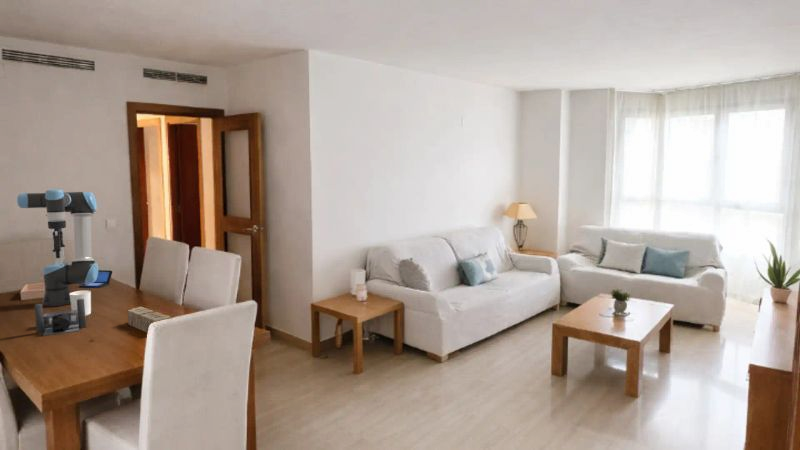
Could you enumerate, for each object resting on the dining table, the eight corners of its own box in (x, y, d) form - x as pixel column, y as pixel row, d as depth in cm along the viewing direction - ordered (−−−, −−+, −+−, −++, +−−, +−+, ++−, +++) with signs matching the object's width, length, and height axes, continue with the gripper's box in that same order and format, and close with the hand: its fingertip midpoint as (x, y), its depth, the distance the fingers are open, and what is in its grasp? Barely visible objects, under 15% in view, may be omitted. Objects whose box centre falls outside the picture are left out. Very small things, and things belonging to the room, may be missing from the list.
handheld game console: (78, 288, 332) (77, 274, 331) (91, 283, 345) (90, 269, 344) (100, 288, 331) (99, 274, 330) (113, 283, 344) (112, 270, 343)
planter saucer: (26, 292, 319) (25, 284, 319) (64, 288, 329) (63, 281, 329) (21, 300, 301) (20, 291, 301) (61, 295, 311) (60, 287, 310)
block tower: (127, 326, 256) (154, 336, 237) (125, 309, 255) (153, 318, 237) (143, 322, 262) (171, 332, 244) (141, 306, 261) (169, 314, 243)
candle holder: (82, 317, 266) (80, 295, 265) (66, 316, 268) (64, 294, 267) (96, 312, 276) (95, 290, 274) (81, 311, 278) (79, 290, 276)
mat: (45, 329, 247) (45, 328, 247) (79, 324, 254) (79, 324, 254) (43, 335, 238) (43, 335, 238) (78, 331, 245) (78, 330, 245)
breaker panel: (45, 325, 254) (44, 313, 253) (82, 320, 262) (81, 309, 261) (43, 329, 247) (42, 317, 247) (82, 324, 255) (81, 312, 254)
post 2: (79, 327, 251) (76, 299, 249) (86, 326, 252) (84, 298, 251) (78, 328, 248) (76, 300, 246) (86, 327, 250) (83, 300, 248)
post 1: (37, 332, 242) (34, 304, 241) (44, 331, 244) (42, 303, 242) (36, 334, 240) (33, 305, 238) (44, 333, 241) (41, 304, 240)
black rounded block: (70, 330, 244) (69, 317, 243) (52, 333, 240) (51, 319, 239) (70, 325, 252) (69, 312, 251) (53, 327, 248) (52, 314, 247)
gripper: (50, 218, 264) (53, 258, 266) (44, 223, 242) (48, 267, 244) (67, 217, 267) (70, 257, 270) (63, 222, 246) (66, 265, 248)
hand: (60, 262), depth 257 cm, fingers open, 13 cm apart
